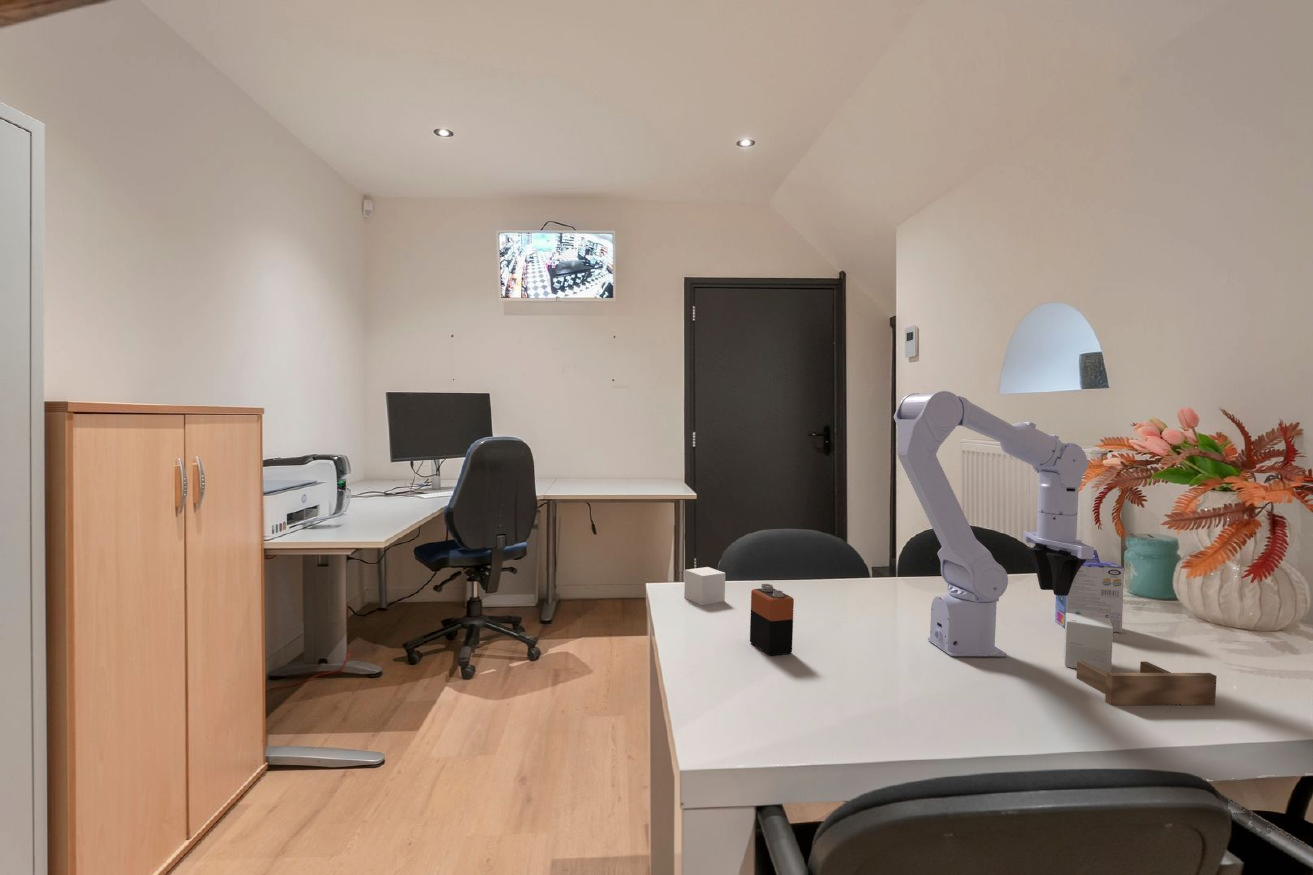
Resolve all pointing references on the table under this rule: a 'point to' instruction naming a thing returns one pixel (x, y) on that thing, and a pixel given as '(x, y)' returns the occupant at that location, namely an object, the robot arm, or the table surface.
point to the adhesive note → (704, 585)
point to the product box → (1088, 641)
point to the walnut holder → (1150, 686)
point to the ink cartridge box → (1094, 593)
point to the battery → (771, 620)
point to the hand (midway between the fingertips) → (1053, 592)
